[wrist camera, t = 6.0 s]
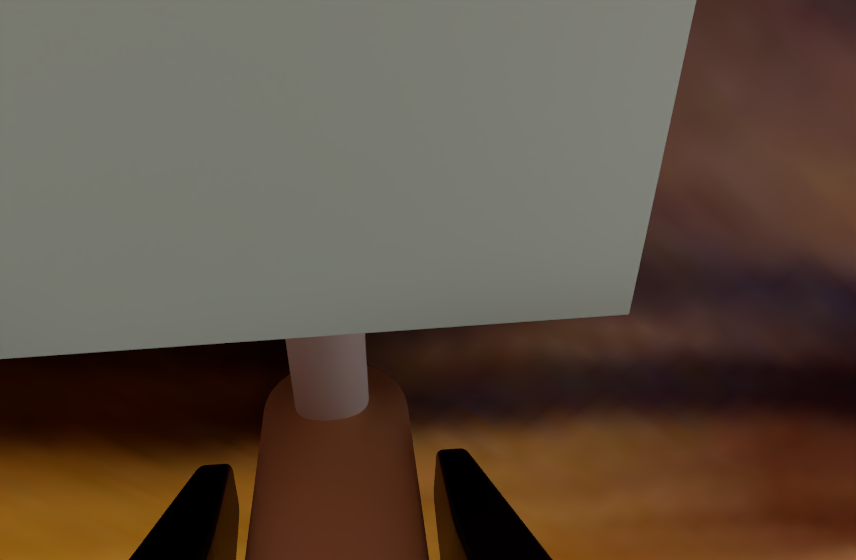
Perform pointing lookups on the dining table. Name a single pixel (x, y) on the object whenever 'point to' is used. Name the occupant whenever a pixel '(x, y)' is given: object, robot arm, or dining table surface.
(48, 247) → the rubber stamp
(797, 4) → the dining table surface
